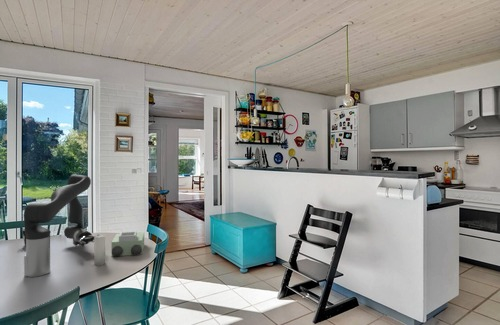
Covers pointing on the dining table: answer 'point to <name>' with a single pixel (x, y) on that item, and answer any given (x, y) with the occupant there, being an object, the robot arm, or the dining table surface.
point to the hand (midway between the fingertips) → (92, 242)
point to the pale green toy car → (128, 244)
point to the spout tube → (99, 250)
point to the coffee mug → (24, 236)
